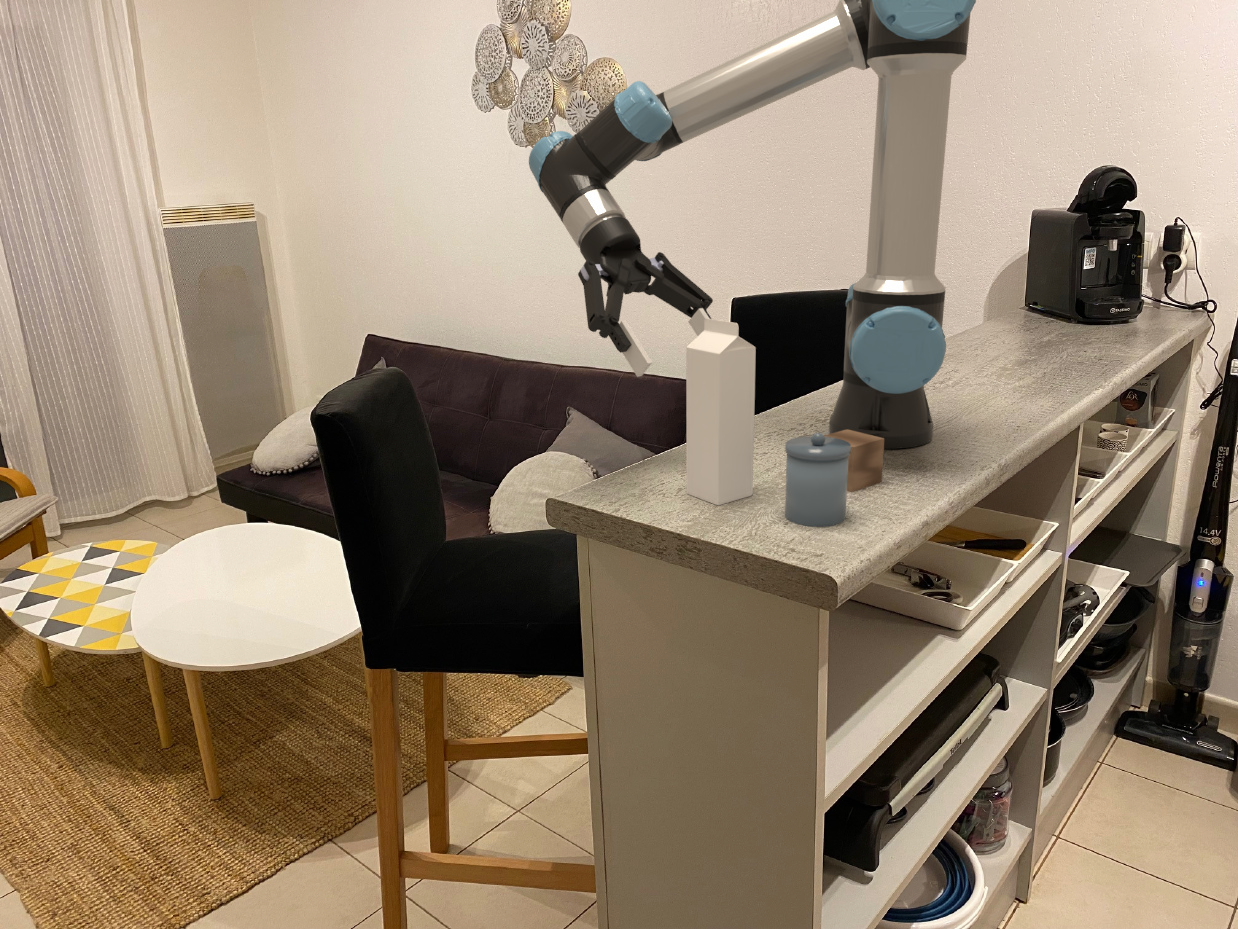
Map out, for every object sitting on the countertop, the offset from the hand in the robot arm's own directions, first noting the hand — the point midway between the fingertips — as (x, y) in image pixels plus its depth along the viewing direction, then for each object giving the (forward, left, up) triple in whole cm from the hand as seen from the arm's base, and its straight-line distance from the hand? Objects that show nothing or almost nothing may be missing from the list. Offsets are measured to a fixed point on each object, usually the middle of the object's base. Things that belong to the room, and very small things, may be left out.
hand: (684, 361), depth 120 cm
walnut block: (-20, +8, -16) cm, 27 cm away
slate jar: (-9, +17, -16) cm, 25 cm away
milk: (-2, +5, -16) cm, 17 cm away
